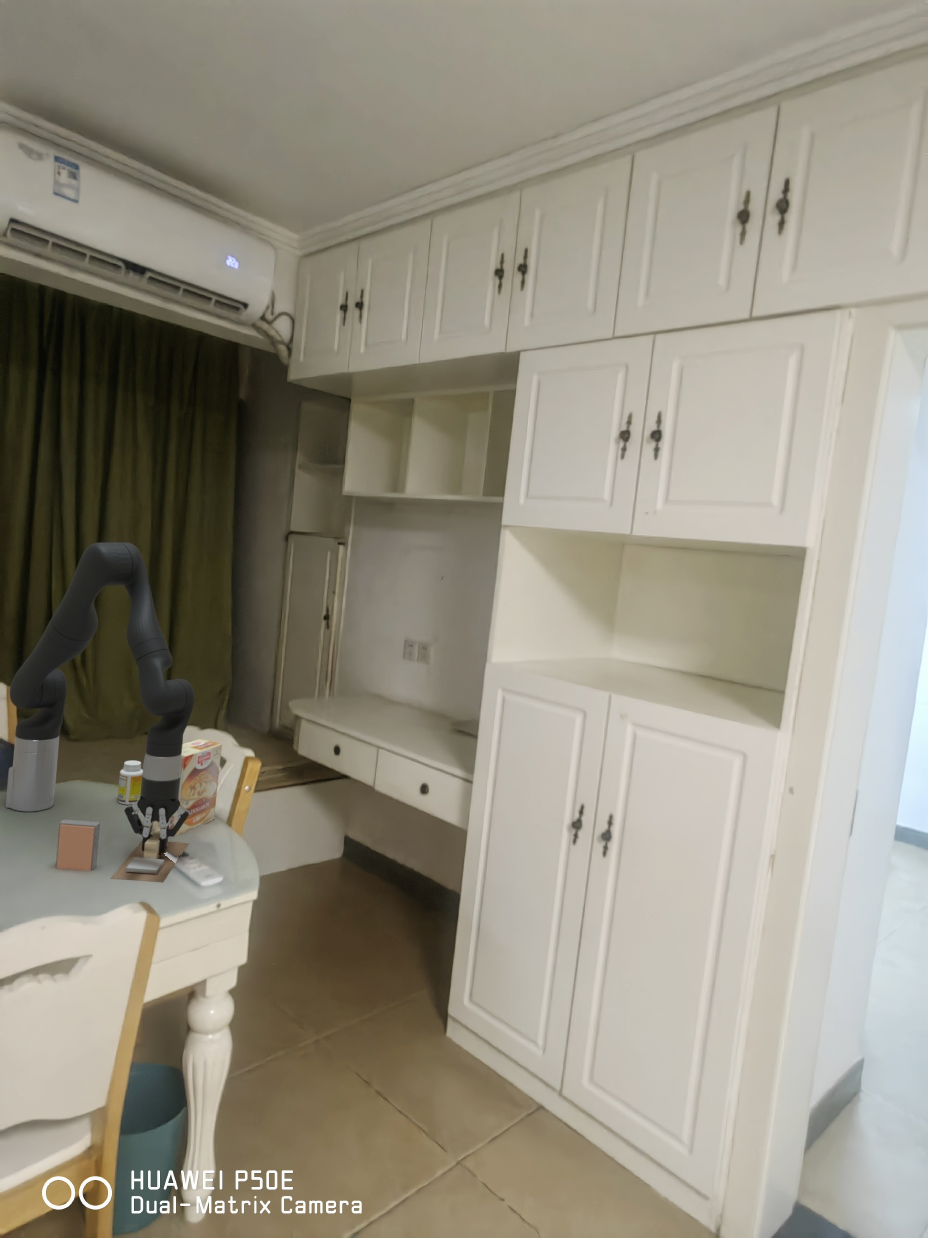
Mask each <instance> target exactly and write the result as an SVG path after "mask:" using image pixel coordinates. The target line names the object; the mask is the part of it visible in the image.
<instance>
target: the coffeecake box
mask: <svg viewBox="0 0 928 1238" xmlns="http://www.w3.org/2000/svg"><path fill="white" fill-rule="evenodd" d="M222 748H223V744H222V743H220V742H217V741H211V740H206V739H202V738H197V739H195V740H192V741H189V742H185V743H183V744H182V755H181V757H182V767H181V768H182V772H181V777H180V787H179V802H180V806H181V807H183V808H185V809H190V810H191V813H190V815H189V816H188V818H187V819H186V820H185V822H184V823H183V825H182V826H181V827H180V829H179V830H178V832H177V833H176V834H175V836H179V835H182V834H183V833H186V832H188V831H189V830H191V829H193V828H195V827H198V826H199V825H206V824H208V823H210V822H212V821H214V820H215V814H216V804H217V794H218V785H219V775H220V768H221V767H220V765H221V759H222V750H223V749H222ZM177 815H178V811H176V812H175V813H174V814H173V815H172V816H171V818H170V825H169V827H170V829H171V828H173V827H174V826H175V824H176V823H177V822H178V820H179V818H178V817H177ZM213 819H214V820H213ZM157 827H160V822H157V821H154V823H153V827H152V831H155V830H156V829H157Z"/></svg>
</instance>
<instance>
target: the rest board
mask: <svg viewBox="0 0 928 1238" xmlns="http://www.w3.org/2000/svg"><path fill="white" fill-rule="evenodd" d="M189 844H190V843H189V842H180V841H179V842H178V841H177V842H176V841H168V845H167V849H166V851H165V852H164V853H166V852H168V853H173V855H175V856H176V857H178V855H179V856H180V855H181V856H182V855H183V853H184V852H185V850H186V849H187V847H188V846H189ZM164 853H163V854H162V855H160V857H159V858H158V859H163V860H164V864H163V866H162V867H161V868H160V870H159V871H158V873H157V874H152V873H138V872H126V867H127V866H128V865H129V864H130V862H131V861H132V860H133V859H134V857H136V858H144V851H142V840H141V841H140V843H139V844H138V845H137V846H136V847H135V848H134V849H133V851H132V852H131V853H130V854H129V856H128V857H127V858H126V859H125V860H124V862H123V863H122V864H121V865H120V867H118V868H117V870H116V872H114V873H113V875H112V876H111V877H110V879H111V880H124V881H136V882H137V881H138V882H140V881H141V882H152V883H164V881H165V880H166V879H167V877H168V876H169V874H170V873H171V871H172V870H173V869H174V867H175V865H176V864H175V863H174V862H173V861H172V860H170V859H169V858H168V857H167V856H165V854H164ZM181 856H180V857H181Z"/></svg>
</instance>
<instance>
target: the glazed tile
mask: <svg viewBox="0 0 928 1238" xmlns="http://www.w3.org/2000/svg"><path fill="white" fill-rule="evenodd" d="M58 825H59V826H58V834H57V837H58V838H57V846H56V848H57V850H56V859H55V868H56V869H58V870H71V871H85V872H86V871H87V872H91V871H94V870H95V868H96V867H97V862H98V852H99V851H98V850H99V839H100V829H101V828H100V827H101V822H99V821H88V820H77V819H76V820H75V819H66V818H65V819H62V820H61V821H60V822H59V823H58Z"/></svg>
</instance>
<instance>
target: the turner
mask: <svg viewBox="0 0 928 1238" xmlns="http://www.w3.org/2000/svg"><path fill="white" fill-rule="evenodd" d="M151 834H152V836H151V837H150V839H148V840H147V841H146V842H145V847H144V858H136V857H134V859H133V860H132V861H131V862H130V864H129V865H128V866H127V867H126V872H138V873H152V874H157V873H158V871H159V870H160V868H161V867H162V866H163V864H164V860H163V859H158V858H159V857H160V855H158V854H159V843H160V840H159V838H160V827H157V829H156V830H153V832H152V833H151ZM167 845H168V843H167Z"/></svg>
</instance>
